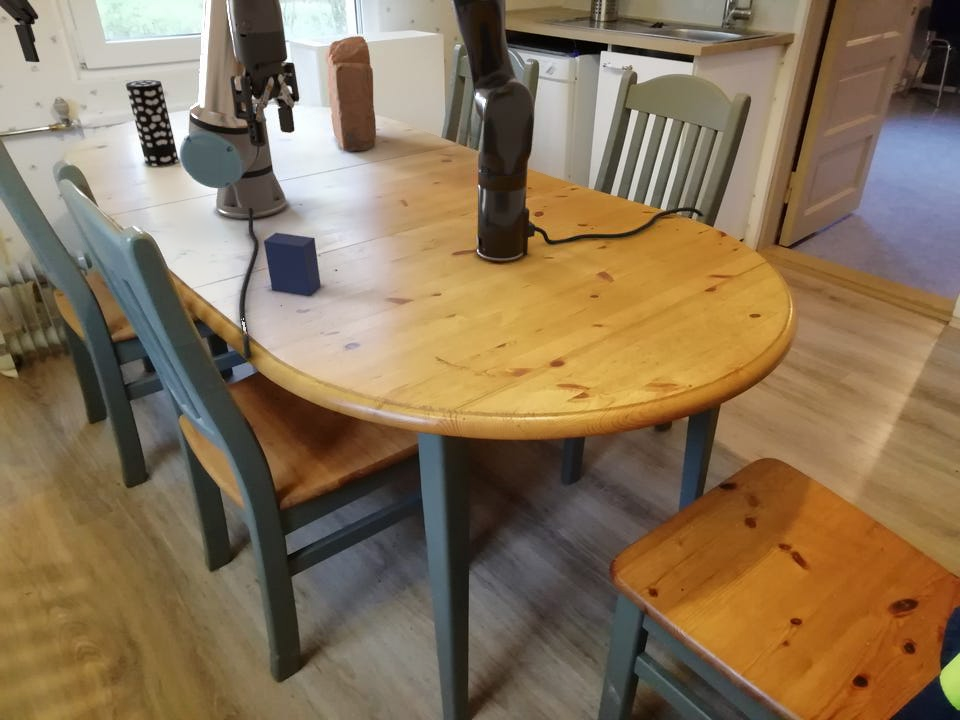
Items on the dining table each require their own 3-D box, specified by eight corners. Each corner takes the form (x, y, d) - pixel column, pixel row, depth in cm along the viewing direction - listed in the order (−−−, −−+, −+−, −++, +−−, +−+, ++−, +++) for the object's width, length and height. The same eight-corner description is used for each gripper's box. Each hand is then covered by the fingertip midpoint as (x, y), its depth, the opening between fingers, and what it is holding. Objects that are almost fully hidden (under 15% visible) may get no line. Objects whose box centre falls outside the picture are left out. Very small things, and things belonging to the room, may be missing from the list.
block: (283, 280, 127) (275, 232, 122) (320, 286, 125) (314, 237, 120) (271, 290, 124) (263, 240, 118) (310, 296, 122) (303, 246, 117)
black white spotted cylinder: (184, 157, 190) (167, 80, 179) (169, 166, 183) (151, 87, 172) (155, 156, 190) (136, 79, 179) (139, 165, 183) (119, 86, 172)
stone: (383, 150, 197) (374, 42, 182) (343, 153, 194) (332, 44, 179) (369, 134, 214) (360, 34, 200) (332, 137, 211) (321, 36, 197)
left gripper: (3, -67, 129) (41, 55, 141) (-132, -65, 109) (-75, 78, 121) (35, -66, 127) (70, 58, 139) (-97, -64, 107) (-43, 81, 119)
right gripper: (262, 19, 108) (277, 126, 116) (205, 31, 96) (226, 148, 105) (304, 22, 106) (316, 130, 115) (251, 34, 94) (269, 153, 103)
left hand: (3, 67), depth 130 cm, fingers open, 13 cm apart
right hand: (273, 138), depth 110 cm, fingers open, 8 cm apart
